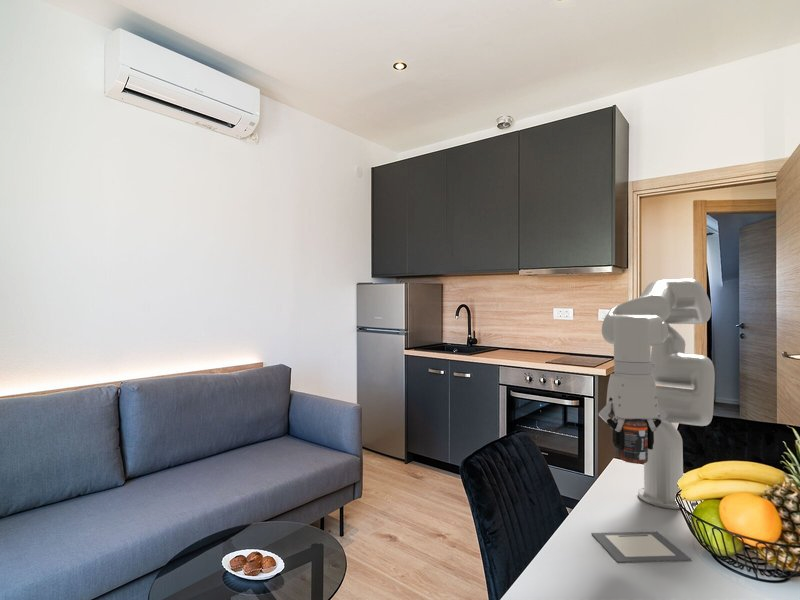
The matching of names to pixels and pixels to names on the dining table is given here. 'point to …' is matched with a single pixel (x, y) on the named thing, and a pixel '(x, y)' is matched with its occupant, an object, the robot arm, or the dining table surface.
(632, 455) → the supplement bottle
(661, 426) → the robot arm
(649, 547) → the mat
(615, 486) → the dining table surface
